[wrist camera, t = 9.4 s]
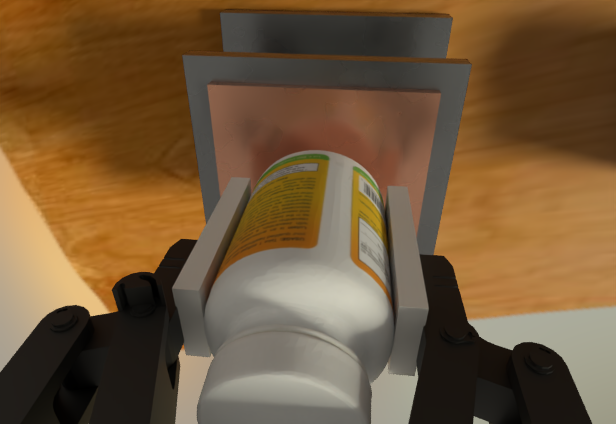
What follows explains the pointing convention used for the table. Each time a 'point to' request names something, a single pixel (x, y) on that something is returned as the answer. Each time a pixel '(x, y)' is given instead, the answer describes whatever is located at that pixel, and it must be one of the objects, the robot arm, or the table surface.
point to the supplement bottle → (301, 299)
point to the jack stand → (331, 100)
